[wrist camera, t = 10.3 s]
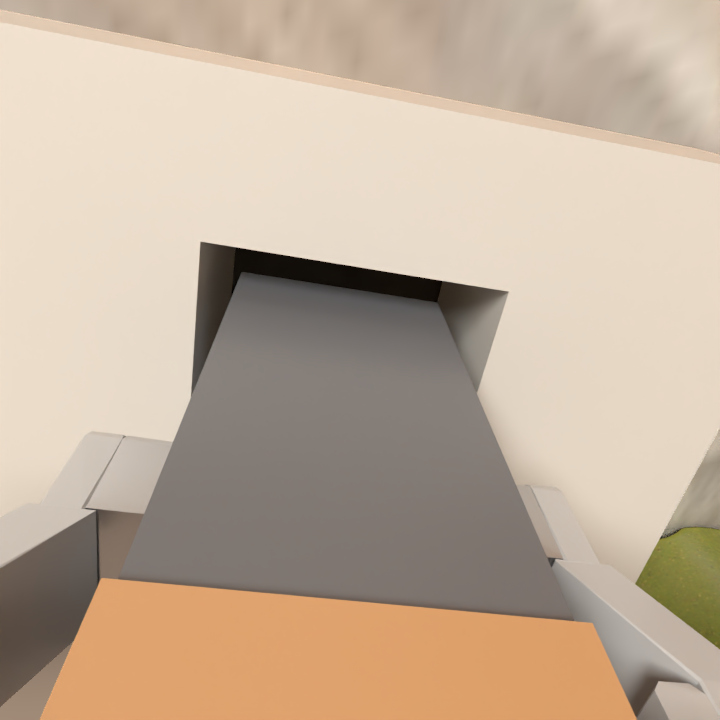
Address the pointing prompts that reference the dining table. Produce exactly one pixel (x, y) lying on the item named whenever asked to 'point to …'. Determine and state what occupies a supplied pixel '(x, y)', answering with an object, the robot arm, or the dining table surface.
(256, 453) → the plug
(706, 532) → the plant pot
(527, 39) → the dining table surface
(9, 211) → the socket block
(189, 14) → the dining table surface
